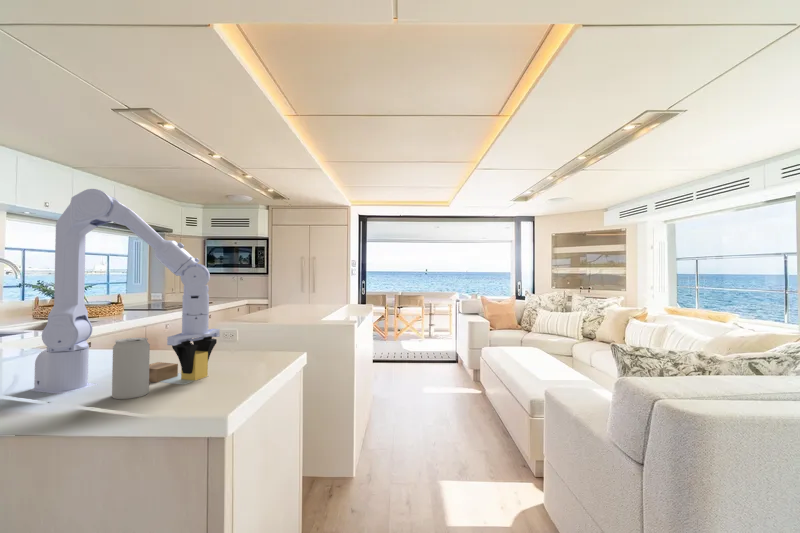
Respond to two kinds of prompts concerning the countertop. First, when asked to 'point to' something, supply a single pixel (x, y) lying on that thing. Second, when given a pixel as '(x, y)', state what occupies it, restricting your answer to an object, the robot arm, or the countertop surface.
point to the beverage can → (130, 368)
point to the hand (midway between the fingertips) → (194, 371)
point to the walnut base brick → (162, 371)
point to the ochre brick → (198, 367)
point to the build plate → (178, 380)
